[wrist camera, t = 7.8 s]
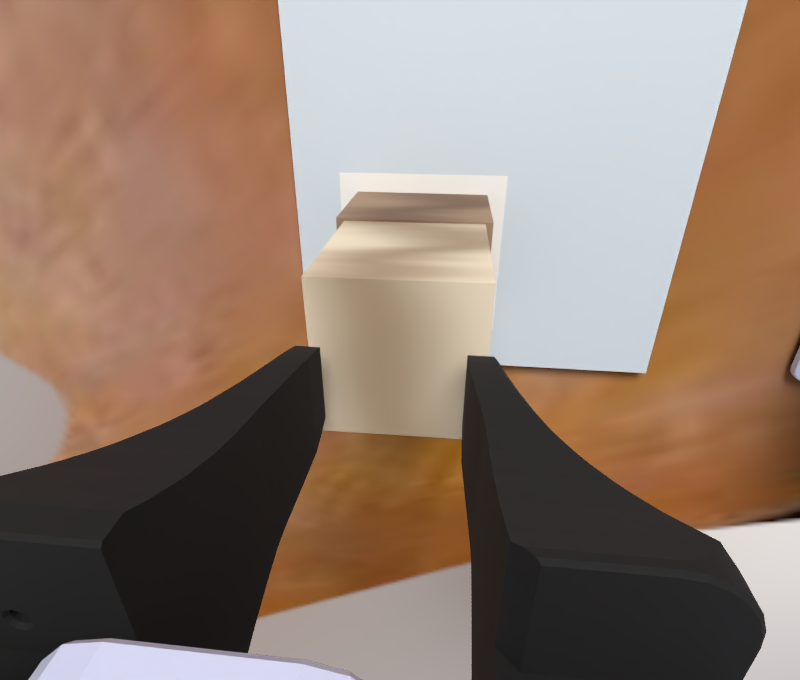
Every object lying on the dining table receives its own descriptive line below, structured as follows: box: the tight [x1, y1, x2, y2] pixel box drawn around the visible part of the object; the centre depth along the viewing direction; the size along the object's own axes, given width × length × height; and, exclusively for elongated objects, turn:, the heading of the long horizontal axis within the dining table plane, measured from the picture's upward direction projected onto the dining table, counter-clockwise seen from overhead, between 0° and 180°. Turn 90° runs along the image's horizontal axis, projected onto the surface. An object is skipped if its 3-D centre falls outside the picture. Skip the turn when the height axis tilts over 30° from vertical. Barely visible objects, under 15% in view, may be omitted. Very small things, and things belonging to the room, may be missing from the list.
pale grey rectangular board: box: [278, 0, 748, 373], centre depth 18 cm, size 15×22×1 cm
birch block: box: [302, 221, 496, 439], centre depth 15 cm, size 4×4×5 cm
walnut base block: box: [336, 192, 494, 252], centre depth 19 cm, size 5×5×4 cm
